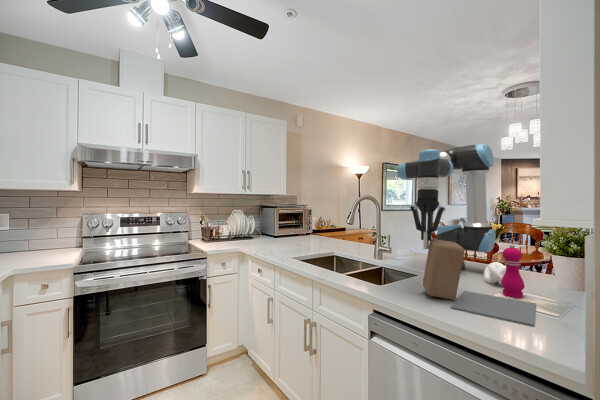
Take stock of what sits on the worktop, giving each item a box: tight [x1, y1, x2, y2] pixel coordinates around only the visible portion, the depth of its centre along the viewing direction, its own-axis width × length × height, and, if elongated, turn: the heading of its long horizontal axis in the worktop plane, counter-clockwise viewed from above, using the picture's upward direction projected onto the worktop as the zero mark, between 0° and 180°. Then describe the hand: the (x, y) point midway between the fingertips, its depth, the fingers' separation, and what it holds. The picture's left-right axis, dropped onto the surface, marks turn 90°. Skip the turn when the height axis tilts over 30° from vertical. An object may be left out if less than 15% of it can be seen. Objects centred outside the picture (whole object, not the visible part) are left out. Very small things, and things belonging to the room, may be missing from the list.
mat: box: [450, 290, 537, 328], centre depth 97 cm, size 22×22×1 cm
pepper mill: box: [501, 243, 525, 299], centre depth 108 cm, size 7×7×20 cm
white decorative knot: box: [483, 261, 506, 286], centre depth 123 cm, size 11×12×9 cm
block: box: [422, 238, 466, 301], centre depth 108 cm, size 10×10×20 cm
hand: (426, 248), depth 111 cm, fingers closed
